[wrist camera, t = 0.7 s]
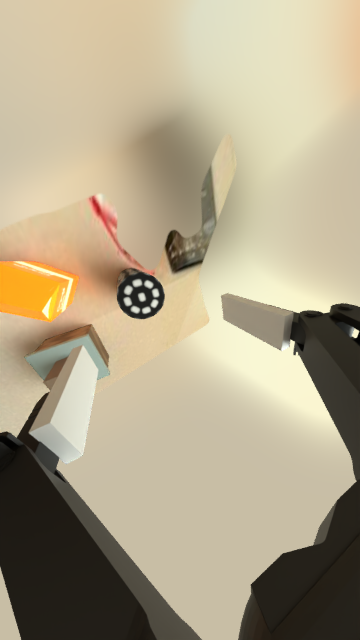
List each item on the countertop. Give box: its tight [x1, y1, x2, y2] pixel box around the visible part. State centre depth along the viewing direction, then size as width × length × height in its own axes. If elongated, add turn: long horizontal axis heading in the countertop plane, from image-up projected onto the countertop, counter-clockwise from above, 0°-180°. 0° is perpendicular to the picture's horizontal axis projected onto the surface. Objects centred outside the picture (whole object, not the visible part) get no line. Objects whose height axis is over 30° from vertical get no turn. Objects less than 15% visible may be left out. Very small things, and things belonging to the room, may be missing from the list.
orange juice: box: [0, 261, 79, 322], centre depth 29 cm, size 8×9×20 cm
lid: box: [24, 334, 110, 391], centre depth 34 cm, size 13×13×8 cm
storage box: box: [35, 324, 109, 368], centre depth 41 cm, size 12×12×8 cm
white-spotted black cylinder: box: [117, 268, 165, 319], centre depth 35 cm, size 8×8×20 cm
